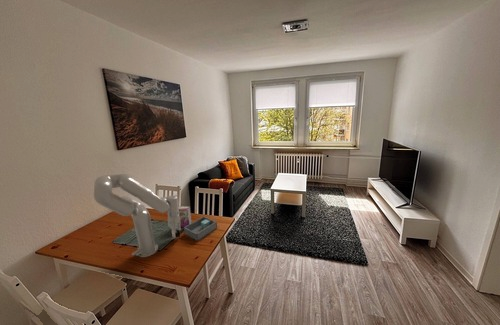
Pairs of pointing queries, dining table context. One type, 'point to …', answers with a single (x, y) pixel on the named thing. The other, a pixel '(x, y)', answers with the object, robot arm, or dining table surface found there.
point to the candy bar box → (184, 216)
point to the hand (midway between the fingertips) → (175, 235)
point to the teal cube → (205, 224)
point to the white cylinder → (173, 233)
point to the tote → (199, 229)
